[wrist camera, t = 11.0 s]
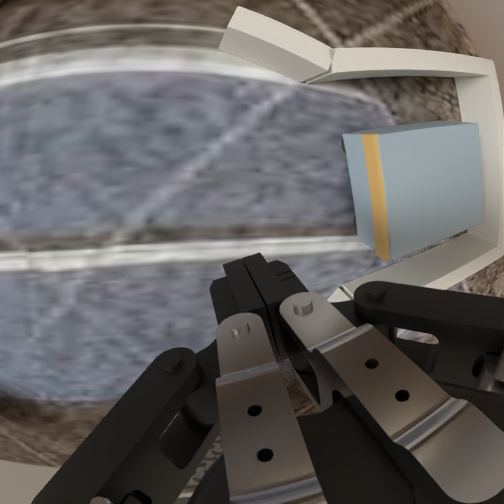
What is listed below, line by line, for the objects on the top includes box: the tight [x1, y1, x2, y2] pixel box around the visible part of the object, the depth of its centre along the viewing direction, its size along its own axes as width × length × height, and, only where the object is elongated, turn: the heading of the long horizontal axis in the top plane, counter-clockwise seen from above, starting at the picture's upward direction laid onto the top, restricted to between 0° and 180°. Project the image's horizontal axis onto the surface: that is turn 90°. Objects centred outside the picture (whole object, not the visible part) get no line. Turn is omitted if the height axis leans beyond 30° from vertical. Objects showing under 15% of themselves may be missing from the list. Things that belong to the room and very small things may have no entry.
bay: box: [219, 6, 504, 302], centre depth 20 cm, size 26×23×4 cm
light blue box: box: [342, 121, 482, 261], centre depth 20 cm, size 8×10×6 cm
